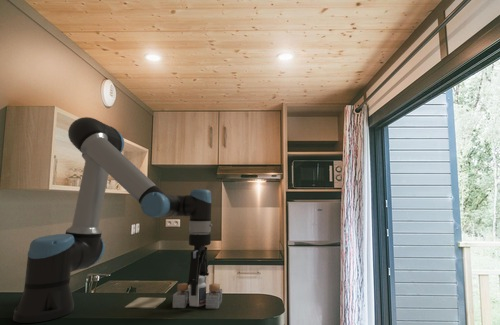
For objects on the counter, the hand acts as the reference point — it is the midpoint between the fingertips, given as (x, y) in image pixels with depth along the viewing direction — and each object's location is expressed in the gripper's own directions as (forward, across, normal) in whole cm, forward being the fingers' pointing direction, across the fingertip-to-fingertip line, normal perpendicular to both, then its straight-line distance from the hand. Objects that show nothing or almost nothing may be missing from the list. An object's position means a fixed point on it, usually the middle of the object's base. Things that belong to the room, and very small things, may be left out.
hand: (198, 300), depth 97 cm
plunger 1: (0, 0, +5) cm, 5 cm away
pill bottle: (+2, 0, 0) cm, 2 cm away
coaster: (+1, 0, +18) cm, 18 cm away
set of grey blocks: (+1, 0, 0) cm, 1 cm away
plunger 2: (0, 0, -6) cm, 6 cm away
